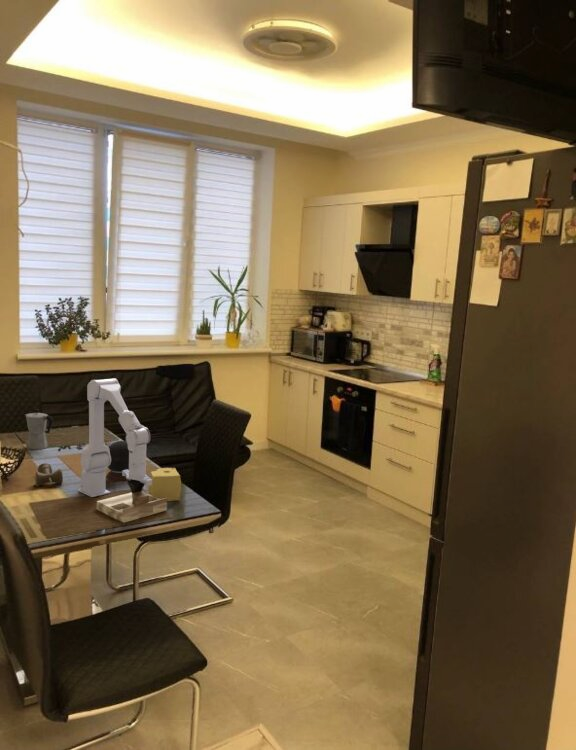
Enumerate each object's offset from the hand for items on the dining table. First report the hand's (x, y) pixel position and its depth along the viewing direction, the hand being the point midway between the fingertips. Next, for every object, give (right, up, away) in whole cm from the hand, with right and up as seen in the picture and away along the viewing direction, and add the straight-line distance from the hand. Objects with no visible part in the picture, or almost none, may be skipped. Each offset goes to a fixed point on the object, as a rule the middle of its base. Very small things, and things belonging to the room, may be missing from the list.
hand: (136, 500), depth 218 cm
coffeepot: (-62, +10, +72) cm, 95 cm away
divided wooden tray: (-2, -4, +2) cm, 5 cm away
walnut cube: (+2, -1, -2) cm, 3 cm away
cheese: (+6, -2, +17) cm, 18 cm away
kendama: (-41, +2, +26) cm, 48 cm away
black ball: (-15, +2, +37) cm, 40 cm away
